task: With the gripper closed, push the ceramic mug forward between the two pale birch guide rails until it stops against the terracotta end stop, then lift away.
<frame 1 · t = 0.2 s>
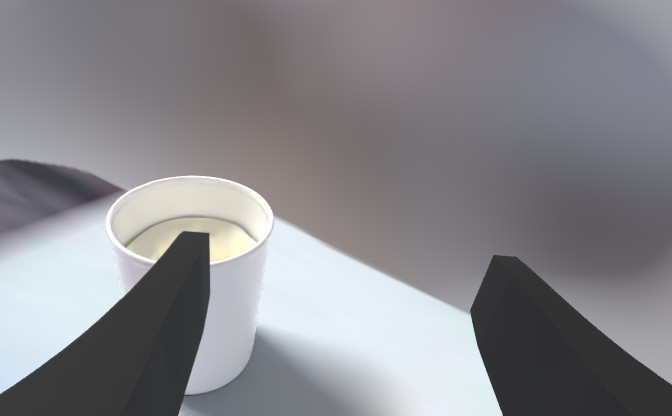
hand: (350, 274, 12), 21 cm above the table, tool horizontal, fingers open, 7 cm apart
candle holder: (196, 349, 35), on the table
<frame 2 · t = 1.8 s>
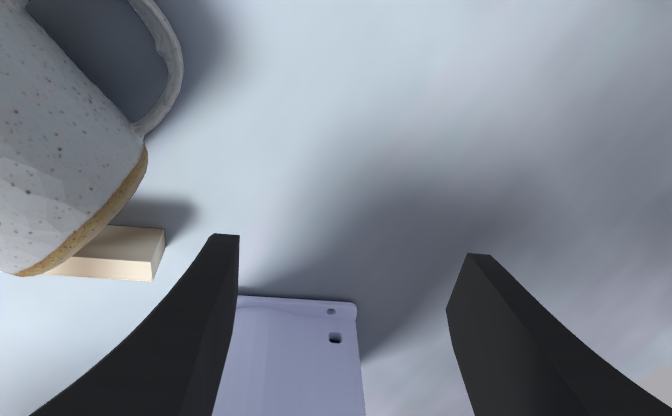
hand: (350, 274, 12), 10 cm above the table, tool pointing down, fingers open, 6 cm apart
ceramic mug: (64, 75, 19), on the table
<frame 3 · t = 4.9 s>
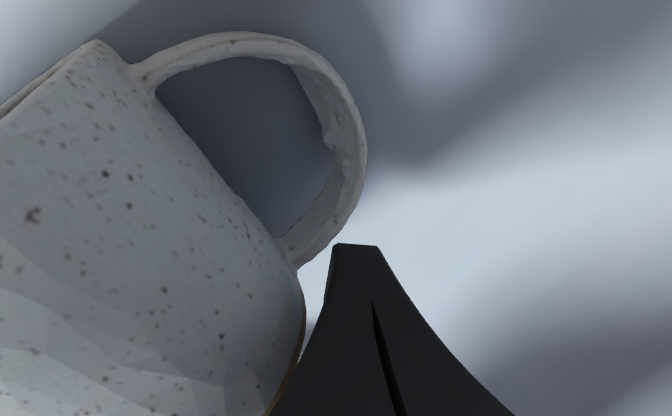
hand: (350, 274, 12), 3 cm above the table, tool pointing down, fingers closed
ceramic mug: (173, 163, 14), on the table, touching gripper
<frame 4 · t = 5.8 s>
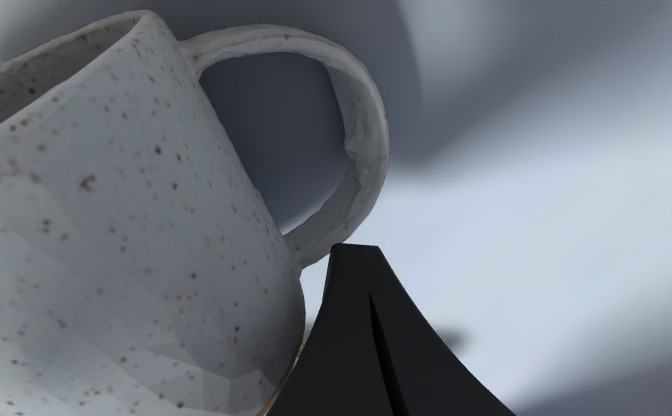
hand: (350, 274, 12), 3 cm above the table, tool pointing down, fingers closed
ceramic mug: (185, 145, 13), on the table, touching gripper
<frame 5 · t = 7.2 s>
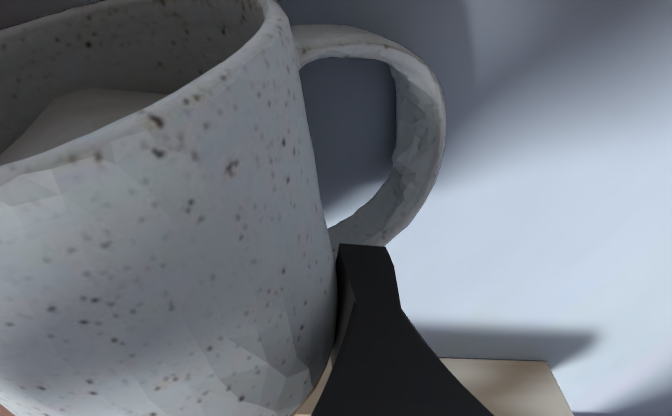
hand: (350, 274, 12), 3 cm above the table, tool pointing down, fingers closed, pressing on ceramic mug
ceramic mug: (229, 128, 13), on the table, touching end stop, gripper
guide rails: (346, 205, 14), on the table
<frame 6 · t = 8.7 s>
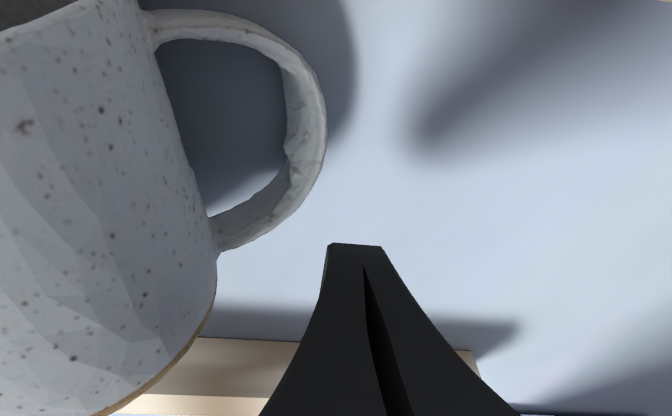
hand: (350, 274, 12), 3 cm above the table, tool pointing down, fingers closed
ceramic mug: (127, 111, 13), on the table
guide rails: (249, 188, 15), on the table
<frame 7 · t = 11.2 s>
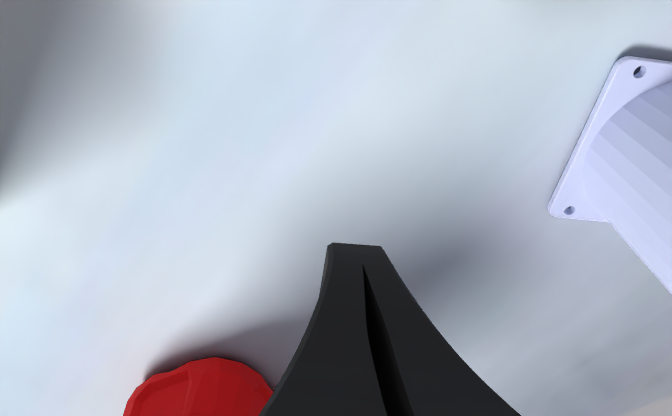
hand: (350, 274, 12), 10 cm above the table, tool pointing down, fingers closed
water bottle: (221, 401, 33), on the table
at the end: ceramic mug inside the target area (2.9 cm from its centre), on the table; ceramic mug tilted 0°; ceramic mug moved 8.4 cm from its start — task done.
